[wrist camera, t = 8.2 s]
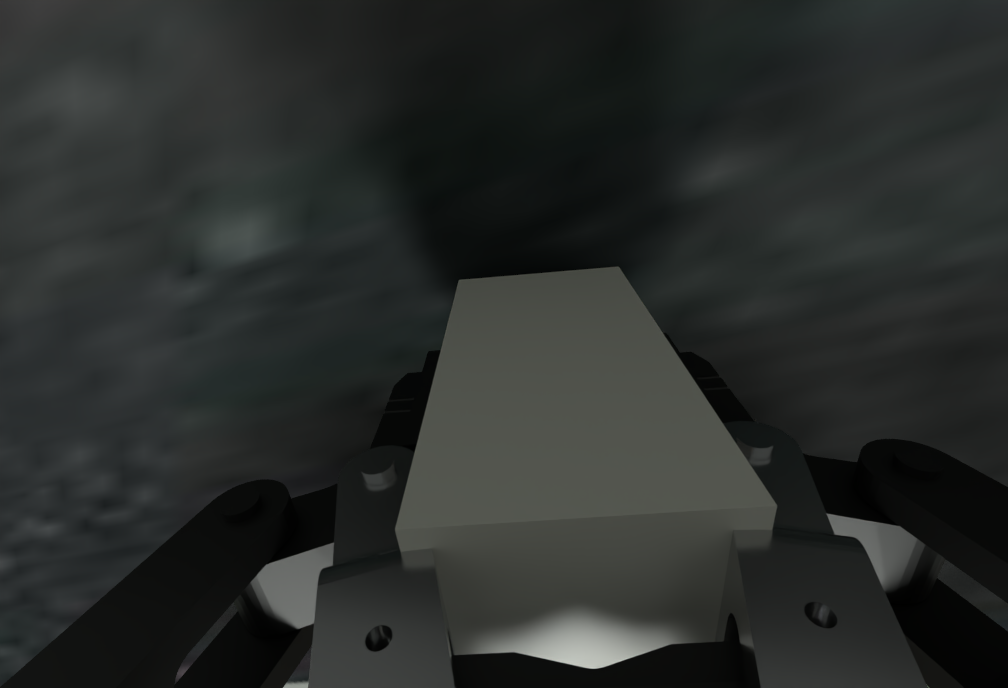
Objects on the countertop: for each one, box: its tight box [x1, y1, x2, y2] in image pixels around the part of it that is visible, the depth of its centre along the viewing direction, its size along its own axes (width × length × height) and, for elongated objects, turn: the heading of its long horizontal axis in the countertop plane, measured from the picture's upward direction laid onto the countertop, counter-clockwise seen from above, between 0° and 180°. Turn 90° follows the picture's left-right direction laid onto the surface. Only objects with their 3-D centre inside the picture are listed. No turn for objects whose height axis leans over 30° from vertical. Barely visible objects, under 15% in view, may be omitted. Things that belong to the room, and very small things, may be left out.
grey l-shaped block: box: [395, 267, 777, 669], centre depth 13 cm, size 17×4×8 cm, turn 5°
